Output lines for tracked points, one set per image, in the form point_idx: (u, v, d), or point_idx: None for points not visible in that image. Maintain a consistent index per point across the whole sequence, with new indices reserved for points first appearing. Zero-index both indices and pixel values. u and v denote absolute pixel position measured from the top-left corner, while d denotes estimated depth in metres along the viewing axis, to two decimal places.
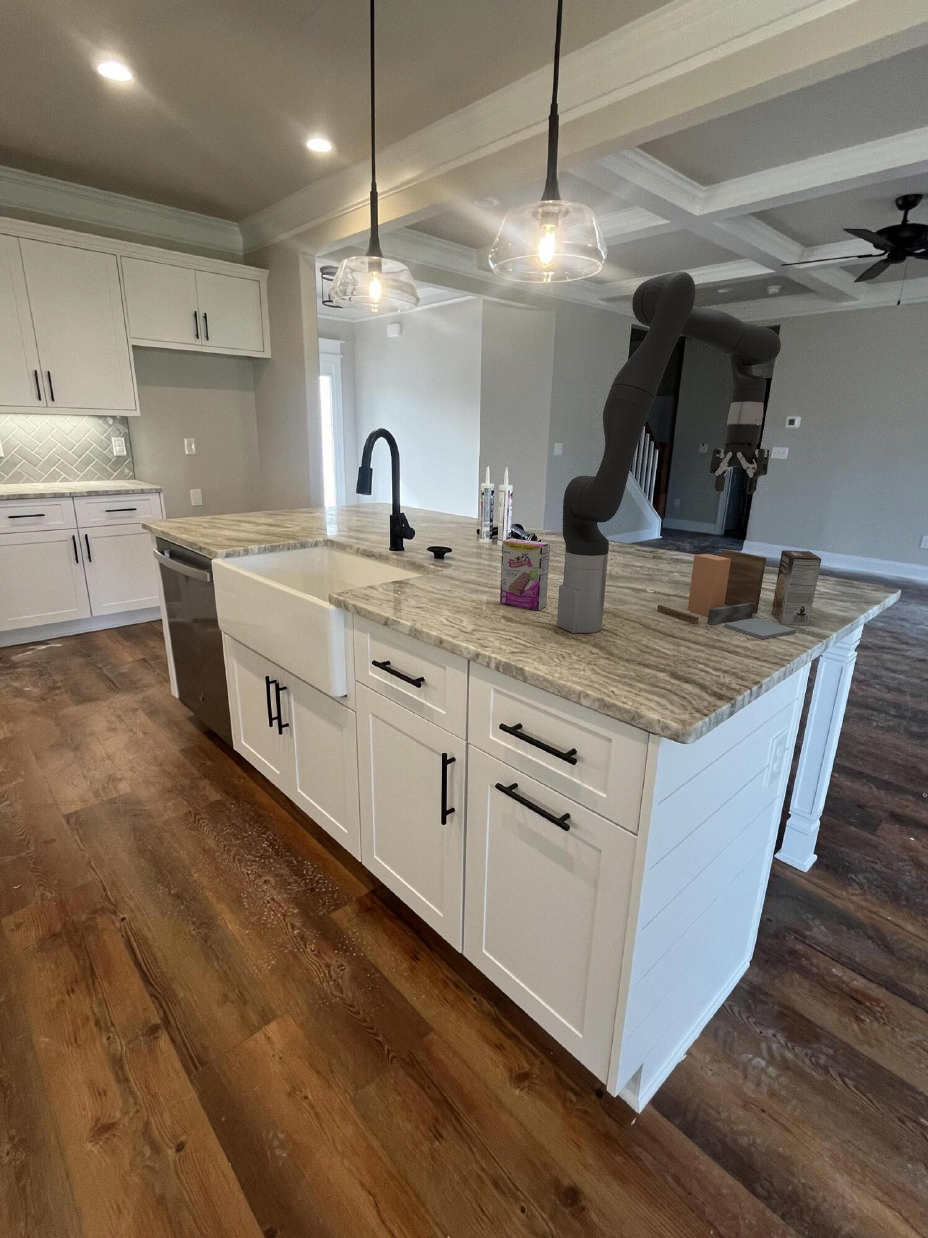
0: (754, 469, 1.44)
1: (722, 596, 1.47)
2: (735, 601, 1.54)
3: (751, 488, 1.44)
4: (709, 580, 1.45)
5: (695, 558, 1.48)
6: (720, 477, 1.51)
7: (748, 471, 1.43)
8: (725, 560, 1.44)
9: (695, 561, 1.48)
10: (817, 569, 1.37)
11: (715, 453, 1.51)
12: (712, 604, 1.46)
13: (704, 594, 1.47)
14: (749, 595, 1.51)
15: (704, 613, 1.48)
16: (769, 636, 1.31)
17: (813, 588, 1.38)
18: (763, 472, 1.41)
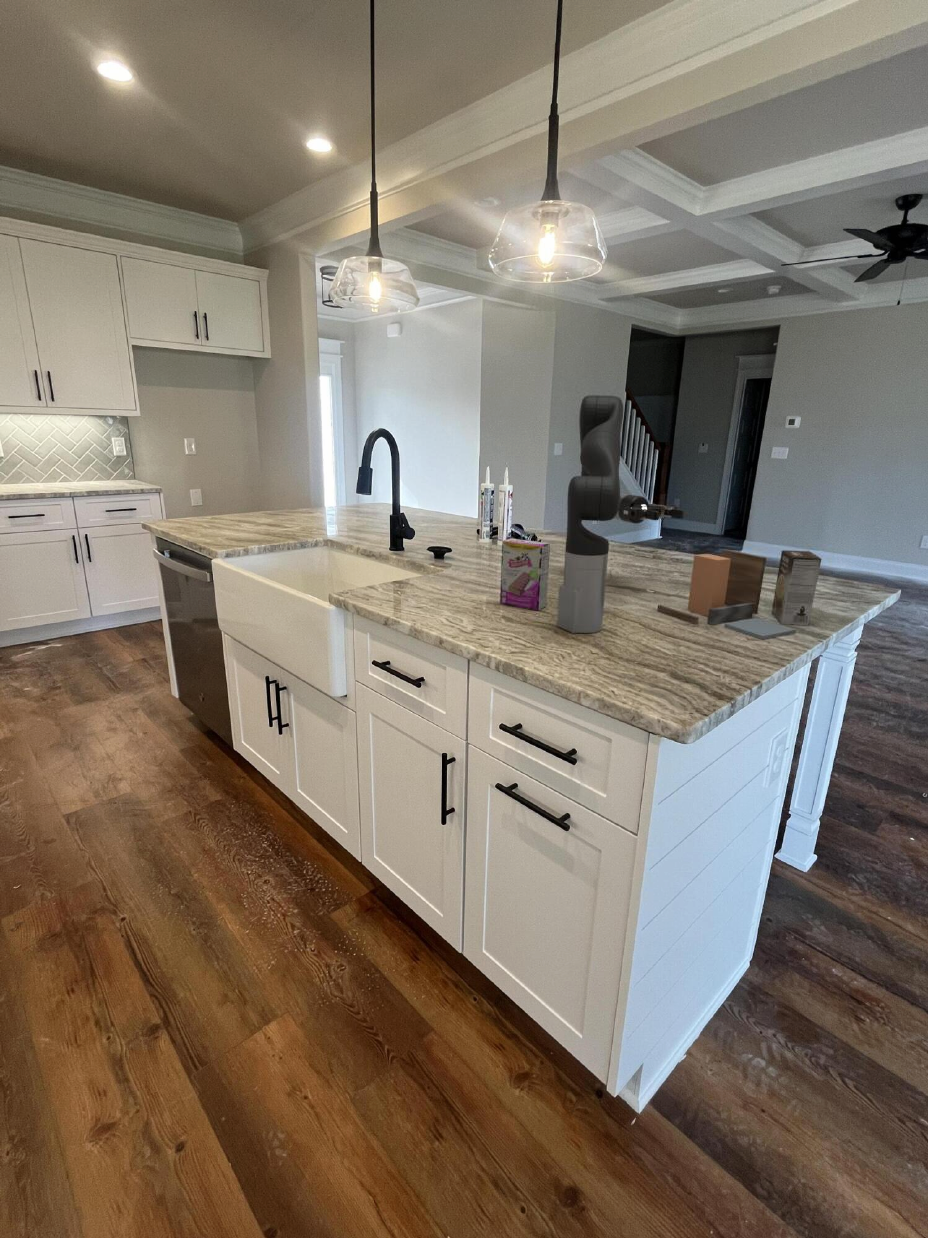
0: (665, 514, 1.63)
1: (722, 596, 1.47)
2: (735, 601, 1.54)
3: None
4: (709, 580, 1.45)
5: (695, 558, 1.48)
6: None
7: (667, 507, 1.62)
8: (725, 560, 1.44)
9: (695, 561, 1.48)
10: (817, 569, 1.37)
11: (628, 507, 1.61)
12: (712, 604, 1.46)
13: (704, 594, 1.47)
14: (749, 595, 1.51)
15: (704, 613, 1.48)
16: (769, 636, 1.31)
17: (813, 588, 1.38)
18: None
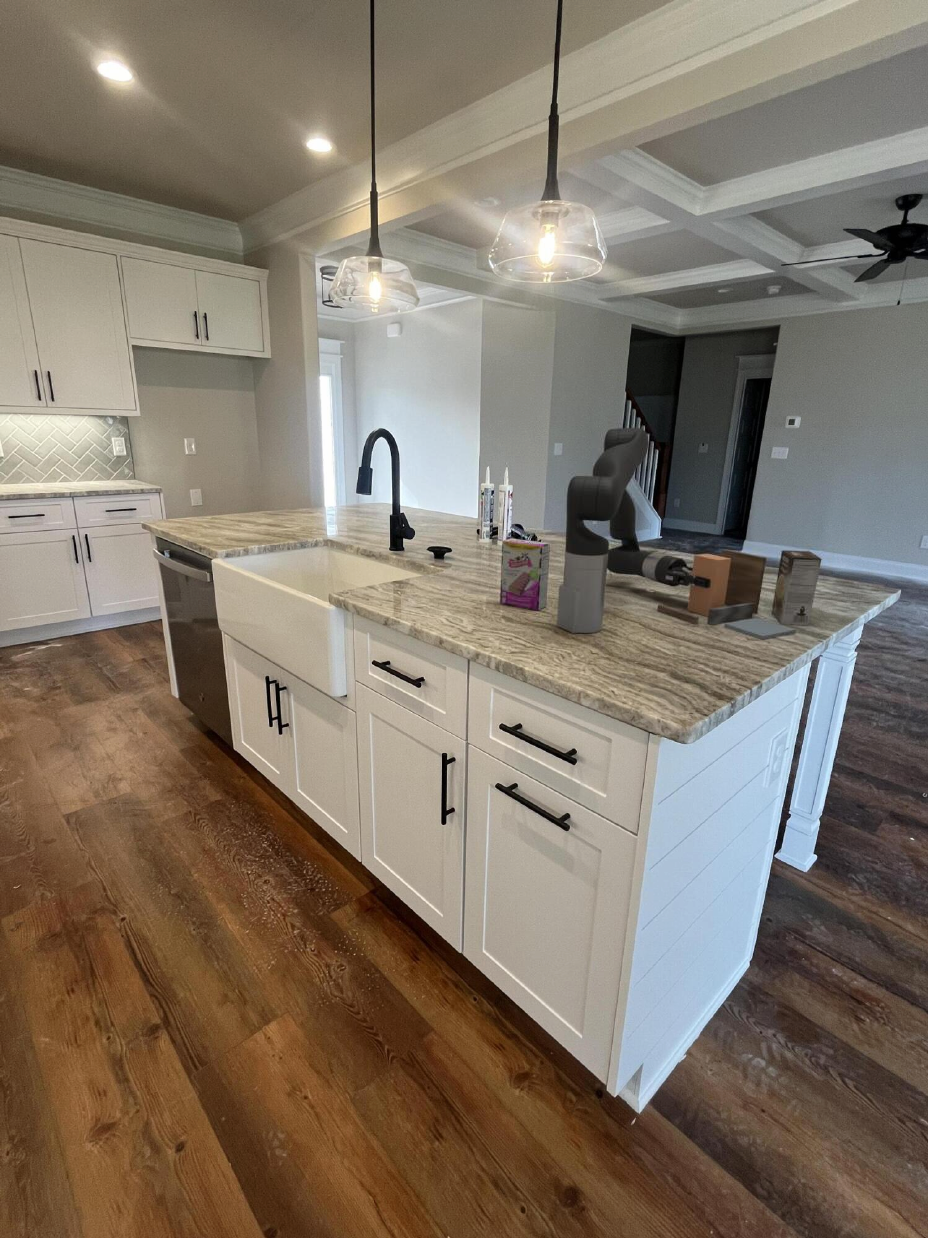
0: None
1: (722, 595, 1.47)
2: (735, 601, 1.54)
3: None
4: None
5: (695, 558, 1.48)
6: None
7: None
8: (725, 560, 1.44)
9: (695, 561, 1.48)
10: (817, 569, 1.37)
11: (671, 572, 1.51)
12: (712, 604, 1.46)
13: (704, 594, 1.47)
14: (749, 595, 1.51)
15: (704, 613, 1.48)
16: (769, 636, 1.31)
17: (813, 588, 1.38)
18: None
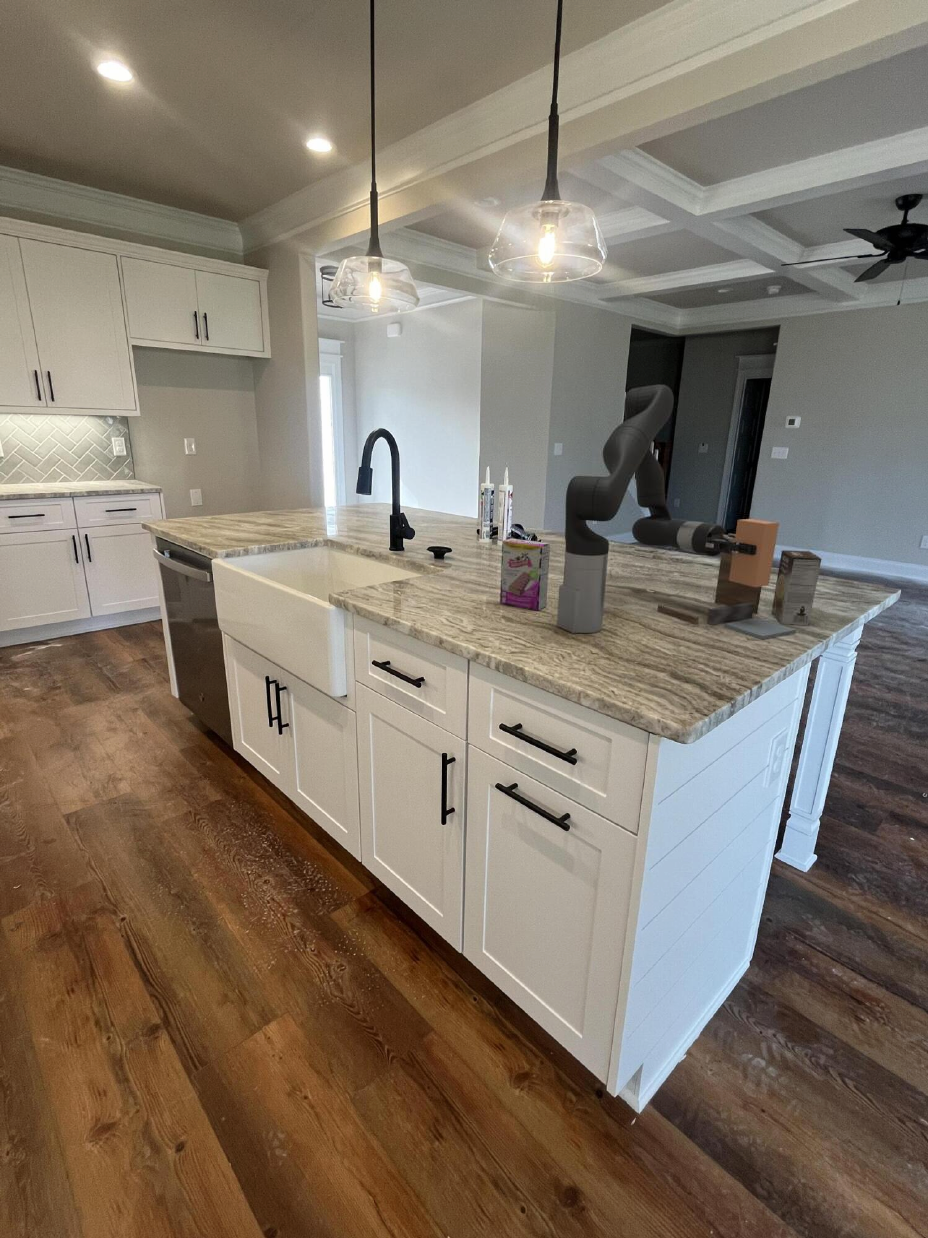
0: None
1: (769, 563, 1.35)
2: (735, 601, 1.54)
3: None
4: None
5: (739, 523, 1.36)
6: None
7: None
8: (773, 524, 1.32)
9: (739, 526, 1.36)
10: (817, 569, 1.37)
11: (712, 539, 1.39)
12: (758, 573, 1.34)
13: (748, 562, 1.35)
14: (749, 595, 1.51)
15: (749, 583, 1.36)
16: (769, 636, 1.31)
17: (813, 588, 1.38)
18: None
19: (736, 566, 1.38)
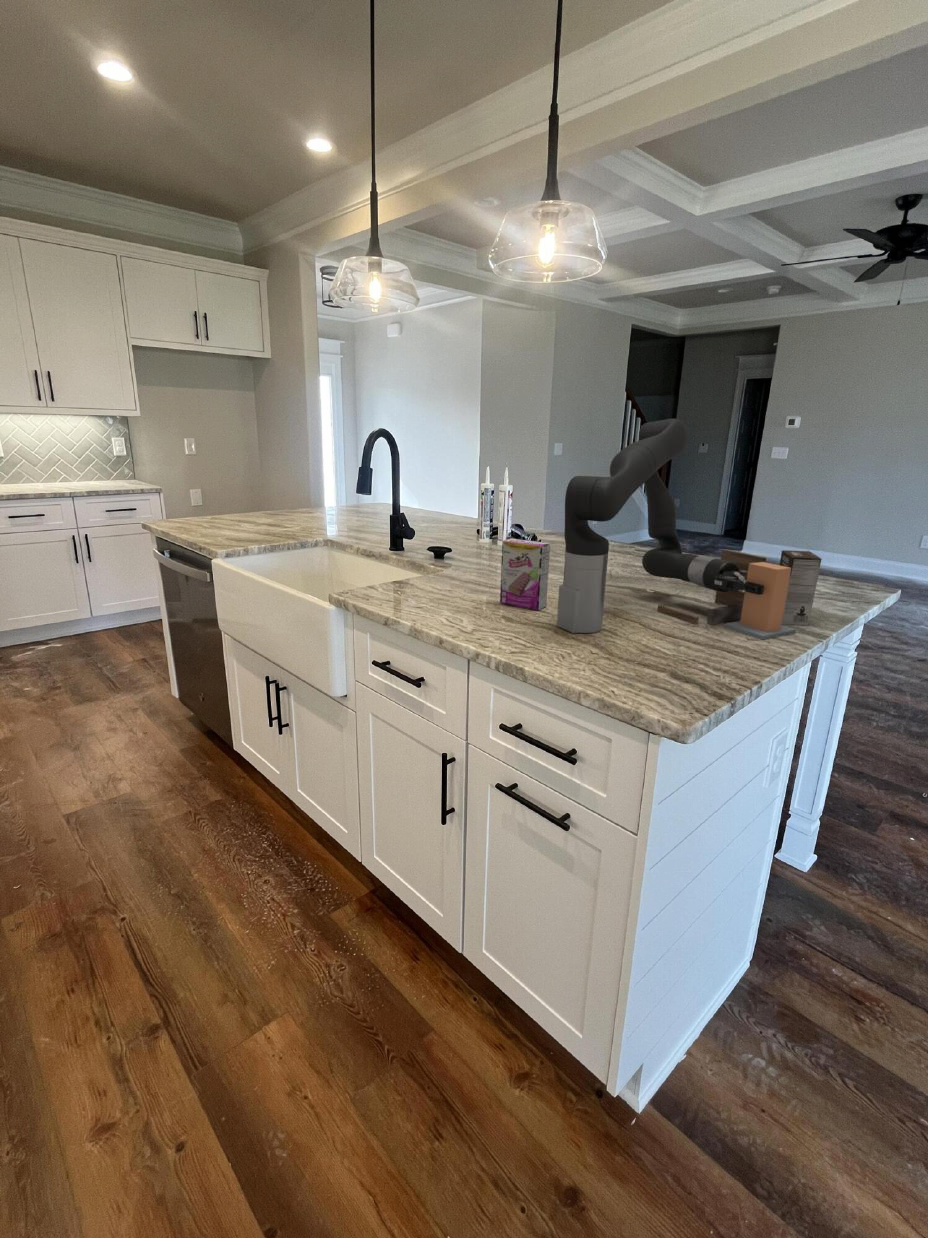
0: None
1: (780, 608, 1.33)
2: (735, 601, 1.54)
3: None
4: (767, 591, 1.32)
5: (750, 567, 1.35)
6: None
7: None
8: (785, 569, 1.30)
9: (750, 570, 1.35)
10: (817, 569, 1.37)
11: (721, 577, 1.38)
12: (769, 618, 1.32)
13: (760, 607, 1.34)
14: None
15: (760, 627, 1.34)
16: (769, 636, 1.31)
17: (813, 588, 1.38)
18: None
19: (747, 610, 1.37)
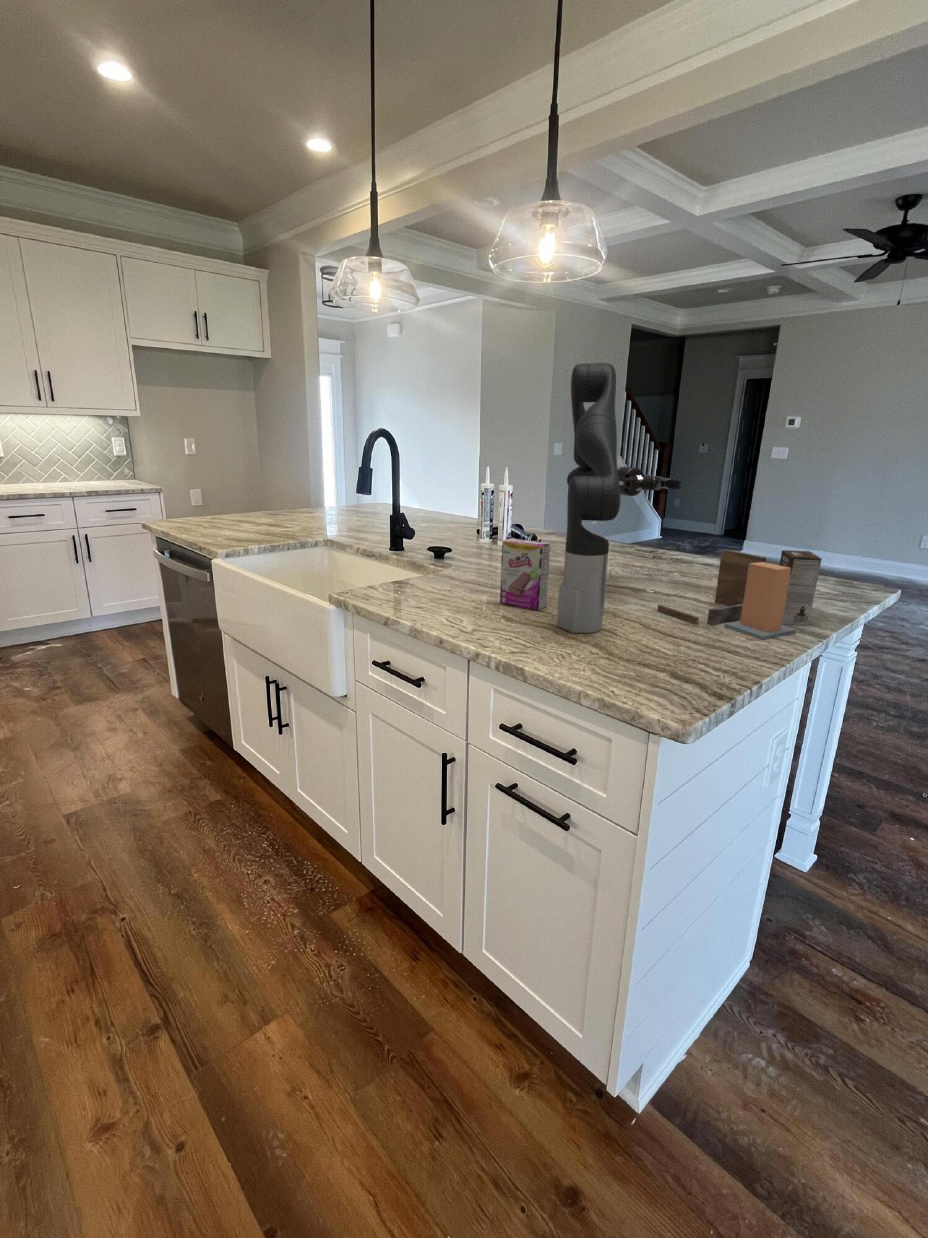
0: (662, 486, 1.58)
1: (780, 608, 1.33)
2: (735, 601, 1.54)
3: None
4: (767, 591, 1.32)
5: (750, 567, 1.35)
6: None
7: (664, 478, 1.57)
8: (785, 569, 1.30)
9: (750, 570, 1.35)
10: (817, 569, 1.37)
11: (623, 478, 1.56)
12: (769, 618, 1.32)
13: (760, 607, 1.34)
14: None
15: (760, 627, 1.34)
16: (769, 636, 1.31)
17: (813, 588, 1.38)
18: None
19: (747, 610, 1.37)
